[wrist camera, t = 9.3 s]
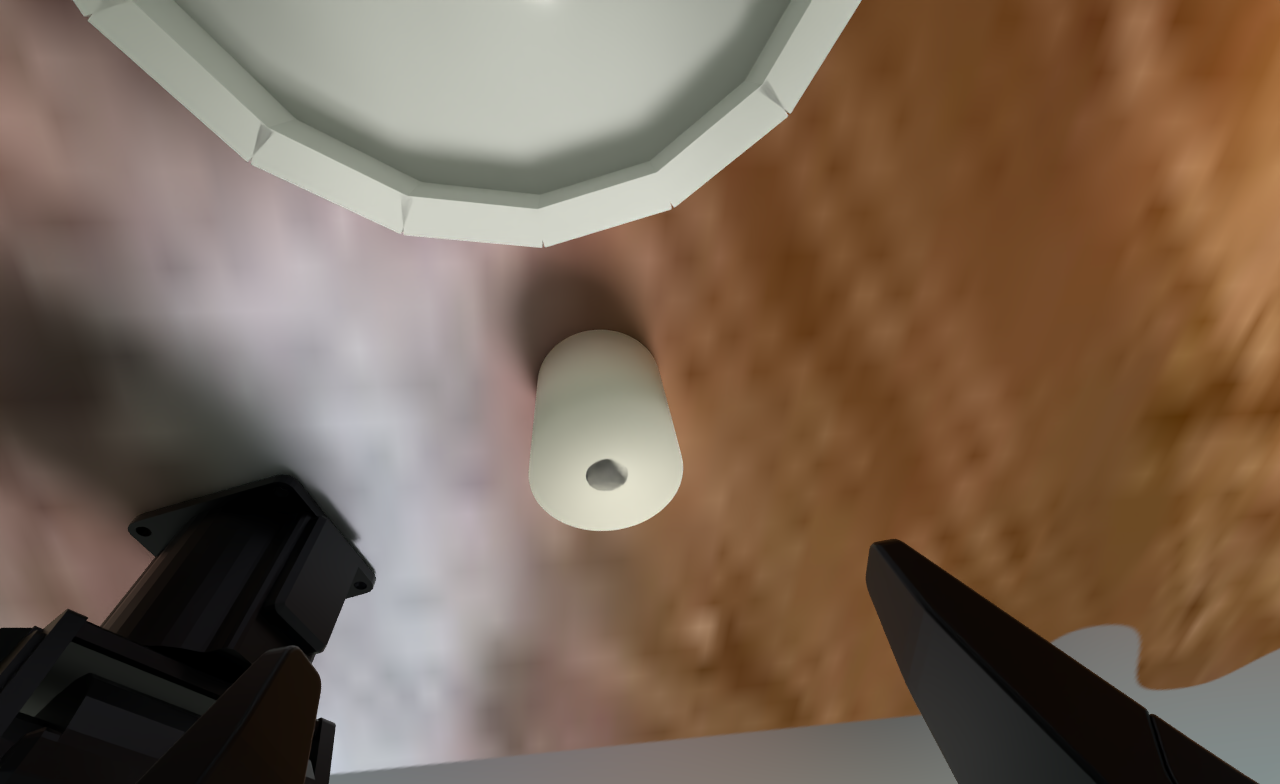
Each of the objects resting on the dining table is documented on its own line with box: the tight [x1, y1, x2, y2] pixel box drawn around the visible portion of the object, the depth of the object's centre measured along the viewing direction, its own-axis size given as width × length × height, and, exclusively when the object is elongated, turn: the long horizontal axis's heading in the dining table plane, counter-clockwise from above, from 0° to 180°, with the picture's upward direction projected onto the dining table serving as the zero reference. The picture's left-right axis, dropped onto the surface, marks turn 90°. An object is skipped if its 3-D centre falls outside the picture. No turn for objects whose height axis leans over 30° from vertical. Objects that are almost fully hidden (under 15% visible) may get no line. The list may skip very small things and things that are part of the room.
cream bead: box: [529, 330, 683, 531], centre depth 18 cm, size 4×4×5 cm
